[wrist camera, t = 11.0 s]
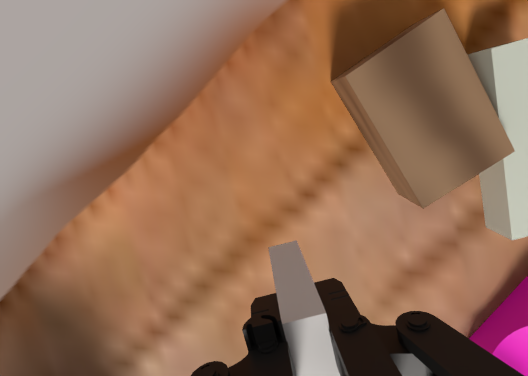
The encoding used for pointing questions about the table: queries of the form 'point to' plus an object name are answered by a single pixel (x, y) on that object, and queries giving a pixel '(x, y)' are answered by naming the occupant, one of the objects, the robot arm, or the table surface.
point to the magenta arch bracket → (508, 330)
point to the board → (518, 131)
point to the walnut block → (424, 111)
